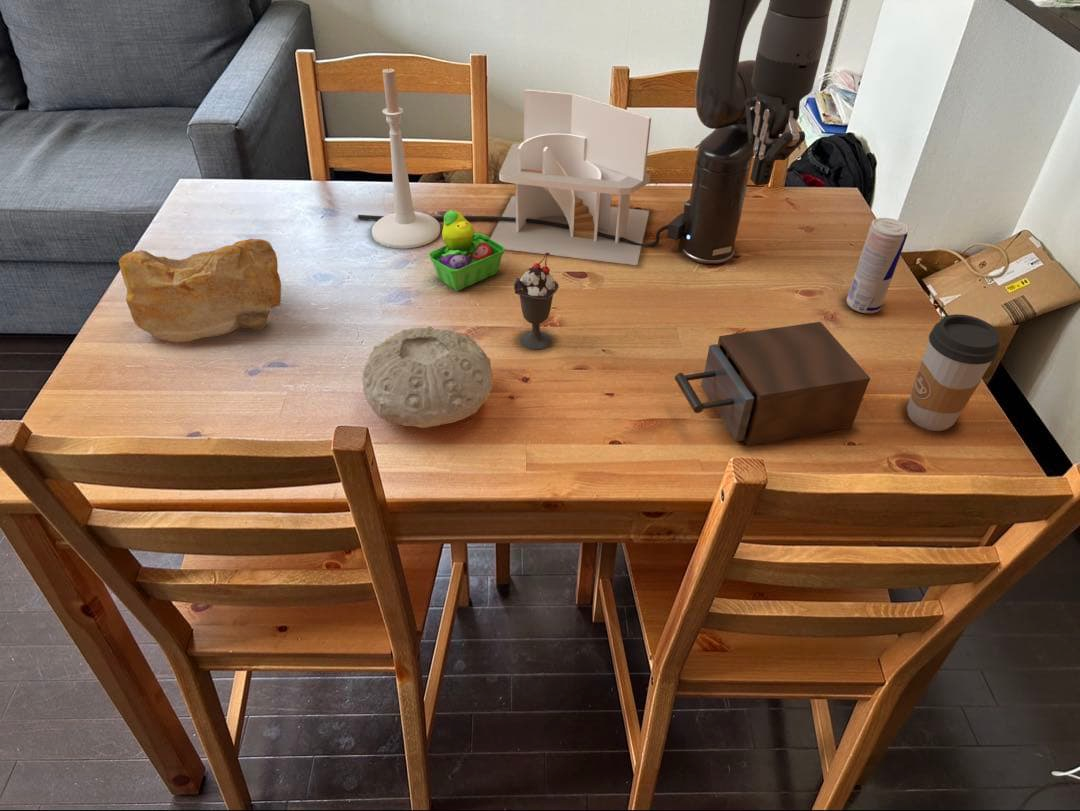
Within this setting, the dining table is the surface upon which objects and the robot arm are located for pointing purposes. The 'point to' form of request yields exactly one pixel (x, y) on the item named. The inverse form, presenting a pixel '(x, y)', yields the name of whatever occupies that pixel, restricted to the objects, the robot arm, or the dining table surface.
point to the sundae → (536, 303)
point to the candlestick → (401, 187)
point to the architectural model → (576, 179)
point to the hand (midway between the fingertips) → (759, 182)
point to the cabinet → (797, 381)
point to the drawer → (721, 392)
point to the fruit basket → (464, 253)
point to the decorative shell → (427, 377)
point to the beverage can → (877, 264)
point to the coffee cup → (951, 370)
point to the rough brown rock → (202, 290)
